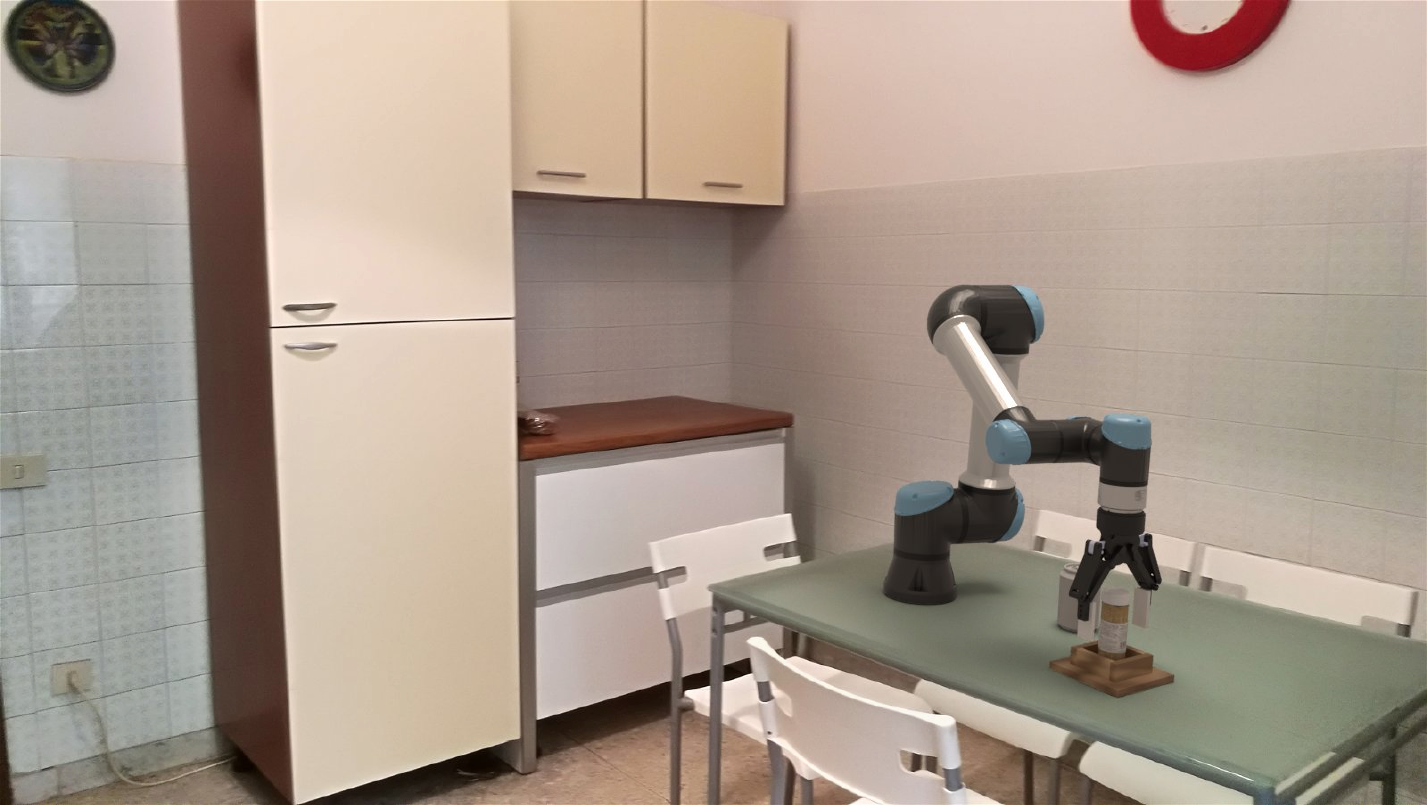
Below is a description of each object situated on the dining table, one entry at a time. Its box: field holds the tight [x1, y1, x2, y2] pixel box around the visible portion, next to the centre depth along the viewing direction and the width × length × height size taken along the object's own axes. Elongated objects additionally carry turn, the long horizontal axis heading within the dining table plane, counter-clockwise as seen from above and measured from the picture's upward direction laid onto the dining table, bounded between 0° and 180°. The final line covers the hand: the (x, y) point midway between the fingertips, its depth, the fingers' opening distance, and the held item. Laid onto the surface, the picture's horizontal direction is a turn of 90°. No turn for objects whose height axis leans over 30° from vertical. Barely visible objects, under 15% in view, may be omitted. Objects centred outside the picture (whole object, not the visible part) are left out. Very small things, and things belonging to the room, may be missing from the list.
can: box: [1056, 562, 1102, 633], centre depth 197 cm, size 8×8×12 cm
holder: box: [1048, 639, 1175, 699], centre depth 174 cm, size 14×14×4 cm
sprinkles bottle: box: [1098, 586, 1132, 661], centre depth 173 cm, size 5×5×14 cm
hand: (1113, 632), depth 173 cm, fingers open, 13 cm apart
